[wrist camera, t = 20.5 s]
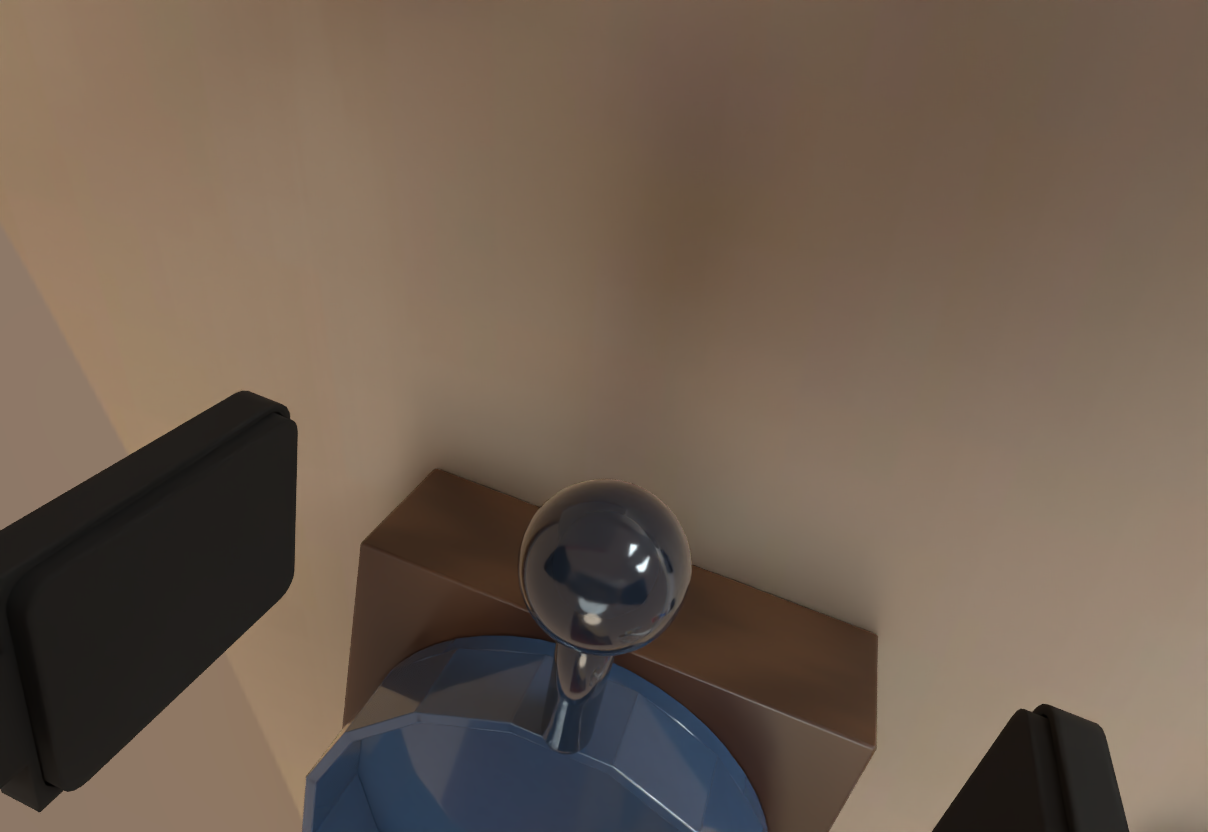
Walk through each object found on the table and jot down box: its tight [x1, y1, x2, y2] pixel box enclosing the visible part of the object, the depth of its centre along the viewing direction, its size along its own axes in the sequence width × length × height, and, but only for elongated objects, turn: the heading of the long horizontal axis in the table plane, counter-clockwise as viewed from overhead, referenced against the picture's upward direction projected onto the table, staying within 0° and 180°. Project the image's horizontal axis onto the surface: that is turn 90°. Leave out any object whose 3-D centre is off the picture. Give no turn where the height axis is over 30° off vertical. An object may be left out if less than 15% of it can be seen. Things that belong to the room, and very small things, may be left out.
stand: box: [342, 469, 878, 832], centre depth 24 cm, size 13×12×4 cm
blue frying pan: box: [302, 479, 768, 832], centre depth 18 cm, size 12×19×6 cm, turn 167°
